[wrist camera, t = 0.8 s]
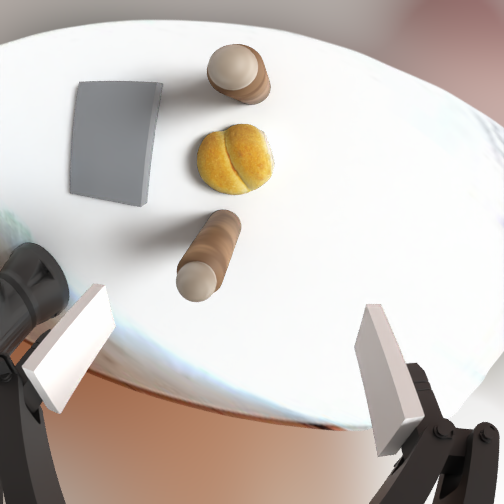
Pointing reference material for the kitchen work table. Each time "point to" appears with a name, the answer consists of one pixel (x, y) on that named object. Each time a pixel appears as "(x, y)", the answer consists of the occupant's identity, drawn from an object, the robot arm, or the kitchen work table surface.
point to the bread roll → (235, 159)
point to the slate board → (114, 140)
